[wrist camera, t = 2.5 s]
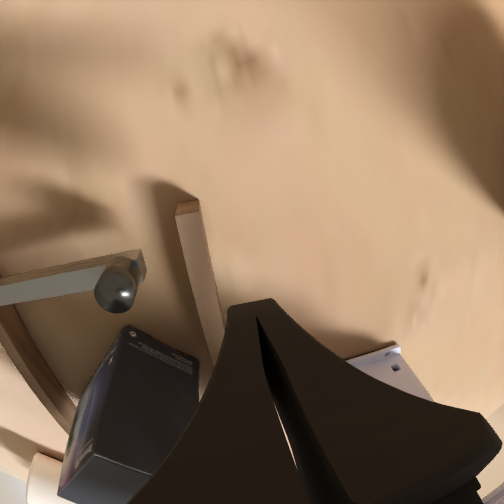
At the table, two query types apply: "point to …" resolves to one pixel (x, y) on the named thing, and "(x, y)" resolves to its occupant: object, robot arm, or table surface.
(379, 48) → the table surface
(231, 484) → the robot arm
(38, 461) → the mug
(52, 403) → the dock
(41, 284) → the bar
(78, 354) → the table surface
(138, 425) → the small box
